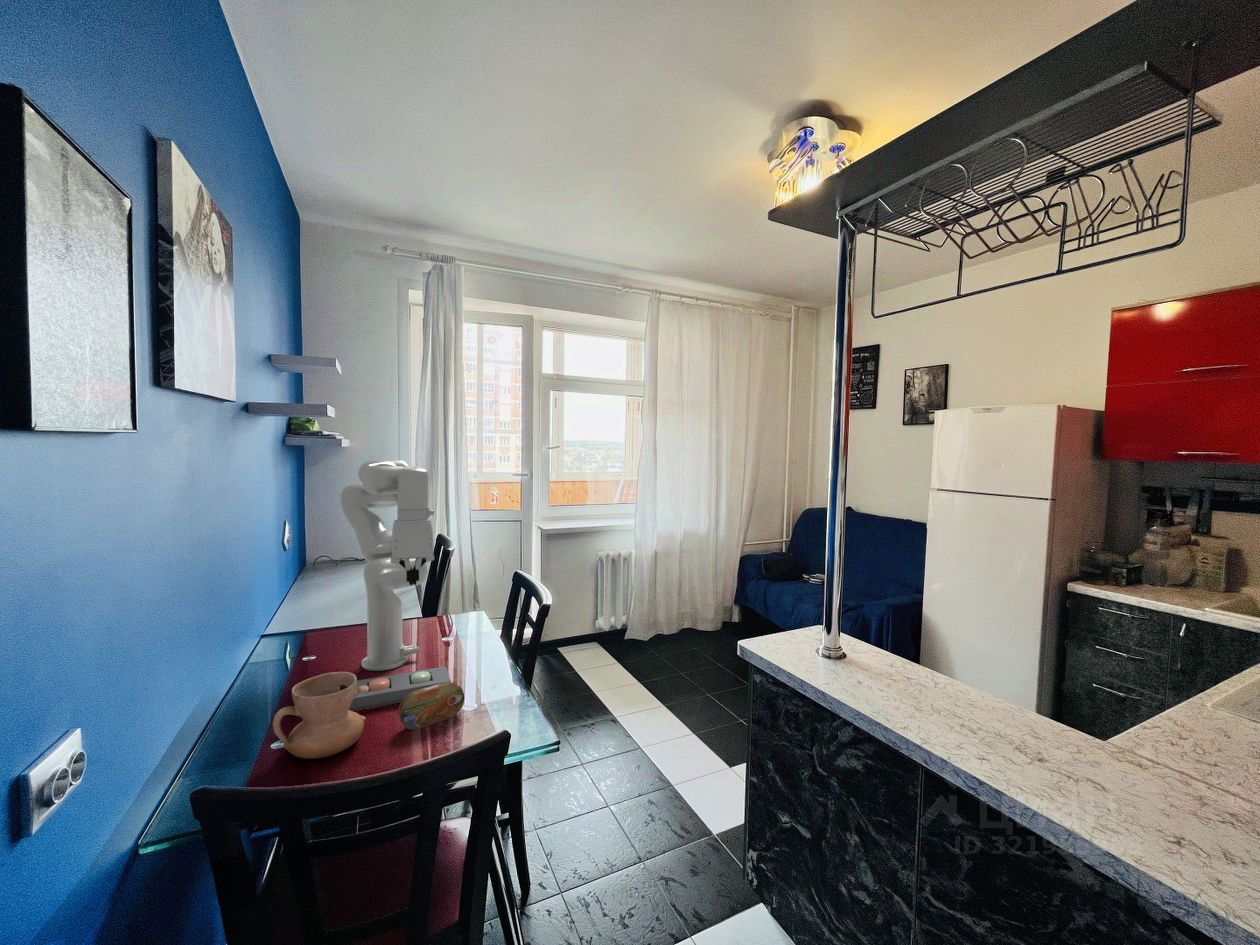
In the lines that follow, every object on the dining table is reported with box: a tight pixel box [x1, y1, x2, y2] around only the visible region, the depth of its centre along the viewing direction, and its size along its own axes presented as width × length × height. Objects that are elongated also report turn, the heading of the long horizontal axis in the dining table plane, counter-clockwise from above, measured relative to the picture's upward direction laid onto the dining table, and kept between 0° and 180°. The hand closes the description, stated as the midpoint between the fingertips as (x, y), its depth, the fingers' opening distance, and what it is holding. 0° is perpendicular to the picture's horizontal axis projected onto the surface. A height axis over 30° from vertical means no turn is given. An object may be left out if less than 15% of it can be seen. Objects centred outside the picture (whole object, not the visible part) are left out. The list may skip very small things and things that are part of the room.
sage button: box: [411, 671, 430, 684], centre depth 138 cm, size 5×5×3 cm
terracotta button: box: [369, 678, 390, 692], centre depth 134 cm, size 5×5×3 cm
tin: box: [397, 681, 465, 731], centre depth 123 cm, size 15×3×8 cm, turn 130°
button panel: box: [348, 665, 452, 712], centre depth 136 cm, size 24×10×4 cm, turn 117°
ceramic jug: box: [272, 671, 369, 760], centre depth 112 cm, size 18×14×14 cm
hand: (412, 583), depth 137 cm, fingers closed
